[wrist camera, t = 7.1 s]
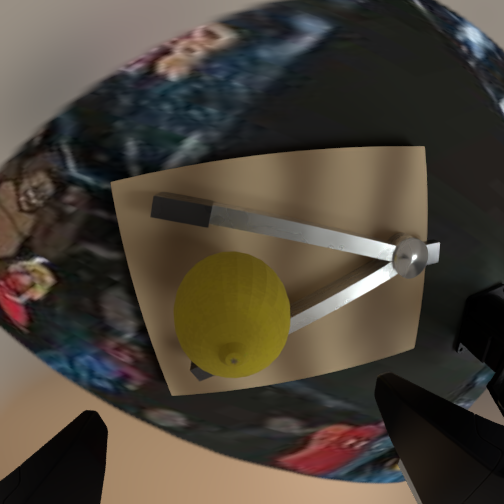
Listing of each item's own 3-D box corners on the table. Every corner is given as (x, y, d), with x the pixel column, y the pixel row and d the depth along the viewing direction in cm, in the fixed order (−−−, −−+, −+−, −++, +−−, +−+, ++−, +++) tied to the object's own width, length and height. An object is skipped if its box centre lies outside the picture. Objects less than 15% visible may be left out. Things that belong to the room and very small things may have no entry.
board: (414, 146, 18) (424, 146, 16) (407, 340, 22) (414, 348, 21) (117, 180, 17) (110, 182, 16) (173, 385, 22) (172, 395, 20)
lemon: (171, 251, 17) (134, 316, 9) (262, 223, 17) (292, 272, 10) (202, 329, 19) (193, 421, 11) (284, 306, 19) (319, 390, 11)
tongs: (426, 163, 17) (446, 165, 15) (419, 316, 20) (434, 329, 18) (156, 192, 16) (146, 197, 14) (196, 361, 20) (193, 382, 17)
